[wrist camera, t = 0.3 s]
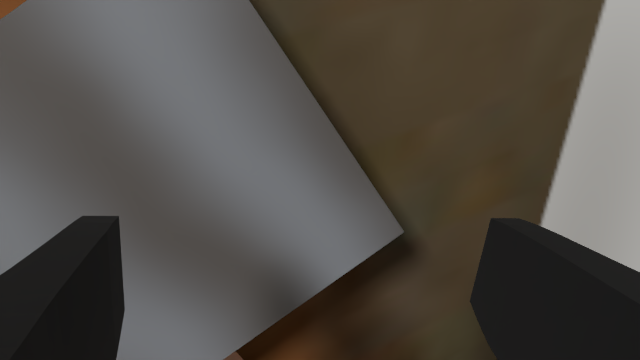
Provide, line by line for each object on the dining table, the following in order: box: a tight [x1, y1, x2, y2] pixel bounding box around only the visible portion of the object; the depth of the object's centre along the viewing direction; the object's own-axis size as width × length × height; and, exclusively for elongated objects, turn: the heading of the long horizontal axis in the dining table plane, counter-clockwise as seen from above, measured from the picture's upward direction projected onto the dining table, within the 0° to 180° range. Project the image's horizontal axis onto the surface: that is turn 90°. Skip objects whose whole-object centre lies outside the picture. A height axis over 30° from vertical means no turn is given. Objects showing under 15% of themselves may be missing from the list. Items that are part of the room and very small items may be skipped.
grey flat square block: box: [0, 0, 404, 360], centre depth 18 cm, size 12×12×4 cm
